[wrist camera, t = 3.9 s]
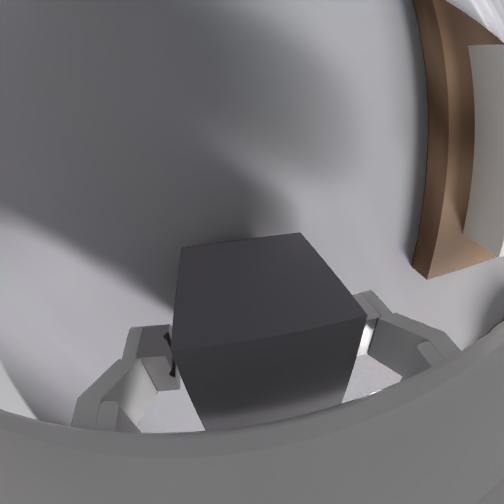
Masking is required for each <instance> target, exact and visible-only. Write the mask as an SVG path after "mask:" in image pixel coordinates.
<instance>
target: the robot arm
mask: <svg viewBox="0 0 504 504" xmlns="http://www.w3.org/2000/svg"><path fill="white" fill-rule="evenodd" d="M352 296H353V297H354V298H355V300H356V301H357V302H358V303H359V305H360V306H361V307H362V308H363V310H364V311H365V312H366V314H367V319H366V323H365V327H364V331H363V335H362V339H361V343H360V346H359V350H358V353H357V356H360V355H364V354H367V353H368V355H369V356H371V357H373V358H374V359H376V360H377V361H379V362H380V363H382V364H384V365H385V366H387V367H388V368H390V369H392V370H393V371H395V372H396V373H398V374H400V375H401V376H402V378H401V380H400V382H399V383H396V384H394V385H391V386H389V387H387V388H384V389H382V390H379V391H377V392H374V393H371V394H369V395H366V396H363V397H360V398H357V399H355V400H352V401H349V402H346V403H342V404H339V405H336V406H333V407H329V408H326V409H323V410H319V411H315V412H312V413H308V414H304V415H300V416H296V417H291V418H287V419H282V420H277V421H272V422H267V423H262V424H256V425H250V426H243V427H236V428H228V429H219V430H209V431H197V432H179V433H141V431H140V430H139V429H138V428H137V427H136V426H135V425H136V424H137V422H138V421H139V419H140V418H141V417H142V415H143V414H144V412H145V411H146V409H147V408H148V406H149V405H150V403H151V402H152V400H153V399H154V397H155V396H156V394H157V393H158V392H157V391H166V390H177V389H180V373H179V370H178V368H177V366H176V363H175V360H174V358H173V355H172V353H171V337H172V326H171V325H170V324H168V325H155V326H144V327H131V328H130V330H129V333H128V337H127V340H126V344H125V348H124V352H123V357H122V359H118V360H117V361H116V362H115V363H114V364H113V365H112V366H111V367H110V368H109V369H108V370H107V371H106V372H105V373H103V374H102V375H101V376H100V377H99V378H98V379H97V380H96V381H95V382H94V383H93V384H92V385H91V386H90V387H89V388H88V389H87V390H86V391H85V392H84V393H83V394H82V395H81V396H80V397H79V398H78V400H77V403H76V407H75V411H74V415H73V419H72V423H71V426H65V425H60V424H54V423H49V422H45V421H40V420H36V419H32V418H27V417H24V416H20V415H17V414H13V413H9V412H6V411H4V410H1V409H0V504H504V323H503V324H501V325H500V326H498V327H497V328H496V329H494V330H493V331H491V332H490V333H488V334H487V335H485V336H484V337H482V338H481V339H479V340H478V341H476V342H475V343H473V344H471V345H470V346H468V347H467V348H465V349H463V350H462V351H461V350H460V349H459V348H458V347H457V346H456V345H455V343H454V342H453V341H452V340H451V339H450V338H449V337H448V336H447V334H446V333H445V332H443V331H441V330H438V329H435V328H433V327H430V326H428V325H425V324H423V323H420V322H418V321H415V320H413V319H410V318H408V317H405V316H403V315H400V314H398V313H394V314H393V313H392V312H391V311H390V310H389V309H388V308H387V307H386V305H385V304H384V303H383V302H382V301H381V300H380V299H379V298H378V296H377V295H376V294H375V293H374V292H373V291H371V290H369V291H365V292H361V293H359V294H354V295H352Z"/></svg>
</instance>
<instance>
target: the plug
mask: <svg viewBox="0 0 504 504" xmlns="http://www.w3.org/2000/svg"><path fill="white" fill-rule="evenodd" d="M366 319H367V314H366V312H365V311H364V310H363V308H362V307H361V306H360V305H359V303H358V302H357V301H356V300H355V298H354V297H353V296H352V294H351V293H350V292H349V291H348V289H347V288H346V287H345V286H344V284H343V283H342V282H341V281H340V279H339V278H338V277H337V276H336V275H335V273H334V272H333V271H332V270H331V268H330V267H329V266H328V265H327V264H326V262H325V261H324V260H323V259H322V258H321V256H320V255H319V254H318V253H317V252H316V250H315V249H314V248H313V247H312V246H311V244H310V243H309V242H308V241H307V240H306V239H305V237H304V236H303V235H302V234H301V233H292V234H284V235H276V236H268V237H260V238H252V239H244V240H237V241H229V242H222V243H214V244H207V245H199V246H192V247H185V248H182V251H181V258H180V265H179V273H178V281H177V289H176V297H175V306H174V316H173V326H172V337H171V353H172V355H173V358H174V360H175V363H176V366H177V368H178V370H179V373H180V375H181V378H182V380H183V382H184V385H185V387H186V389H187V392H188V394H189V396H190V399H191V401H192V403H193V405H194V407H195V409H196V412H197V414H198V416H199V418H200V420H201V422H202V424H203V426H204V428H205V430H206V431H209V430H219V429H228V428H236V427H243V426H250V425H256V424H262V423H267V422H272V421H277V420H282V419H287V418H291V417H296V416H300V415H304V414H308V413H312V412H315V411H319V410H323V409H326V408H329V407H333V406H336V405H339V404H341V402H342V400H343V397H344V394H345V391H346V388H347V385H348V382H349V379H350V376H351V373H352V370H353V367H354V363H355V360H356V357H357V353H358V350H359V346H360V343H361V339H362V335H363V331H364V327H365V323H366Z"/></svg>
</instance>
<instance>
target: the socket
mask: <svg viewBox="0 0 504 504" xmlns="http://www.w3.org/2000/svg"><path fill="white" fill-rule="evenodd" d="M468 50H469V56H470V62H471V70H472V79H473V90H474V108H475V142H474V160H473V172H472V181H471V190H470V197H469V203H468V209H467V215H466V220H465V225H464V230H463V235H465V236H467V237H468V238H470V239H471V240H473V241H475V242H476V243H478V244H479V245H481V246H482V247H484V248H485V249H487V250H488V251H490V252H491V253H493V254H494V255H496V256H497V257H501V256H504V45H500V44H495V45H469V46H468Z"/></svg>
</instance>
